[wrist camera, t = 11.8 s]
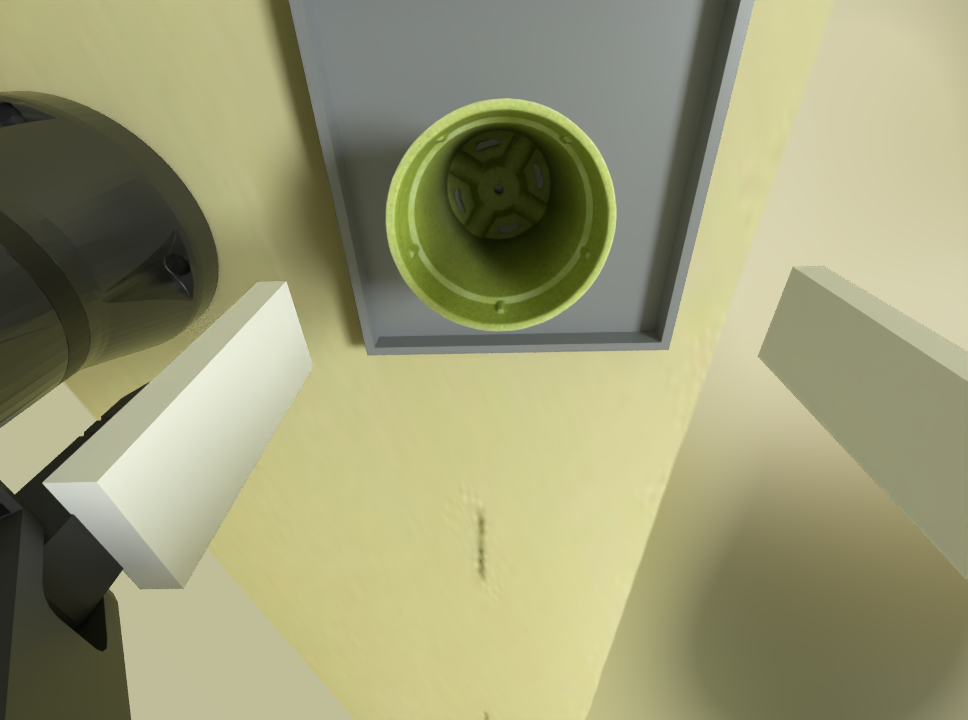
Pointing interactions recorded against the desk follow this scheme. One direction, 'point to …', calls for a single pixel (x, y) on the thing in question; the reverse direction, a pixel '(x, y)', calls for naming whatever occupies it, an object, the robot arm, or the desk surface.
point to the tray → (586, 102)
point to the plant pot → (501, 215)
